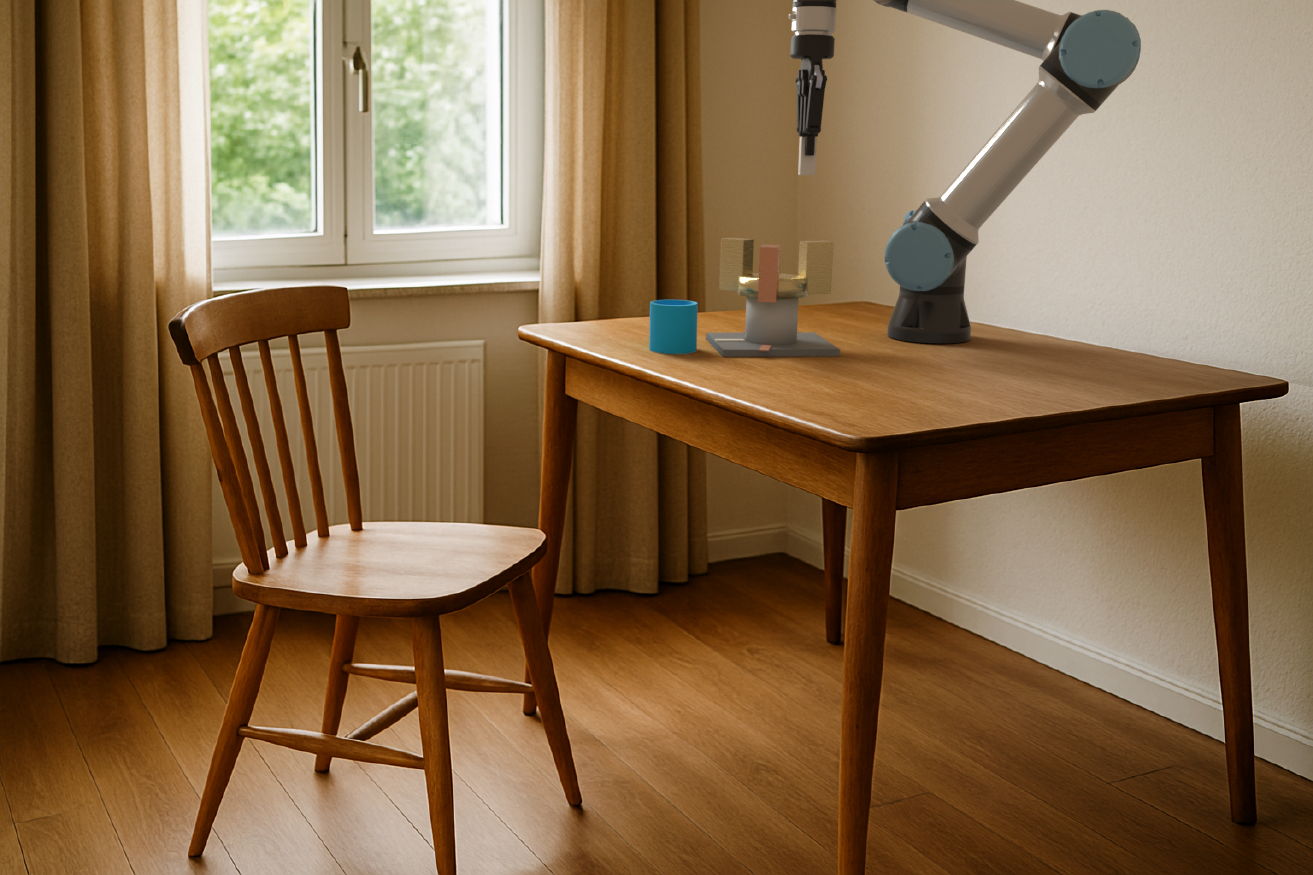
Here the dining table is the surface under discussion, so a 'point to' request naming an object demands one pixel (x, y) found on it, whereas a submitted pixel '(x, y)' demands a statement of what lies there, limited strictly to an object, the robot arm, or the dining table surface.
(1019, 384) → the dining table surface
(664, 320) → the mug
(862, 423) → the dining table surface
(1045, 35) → the robot arm
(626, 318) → the dining table surface
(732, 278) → the three-blade desk fan
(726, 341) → the post base
